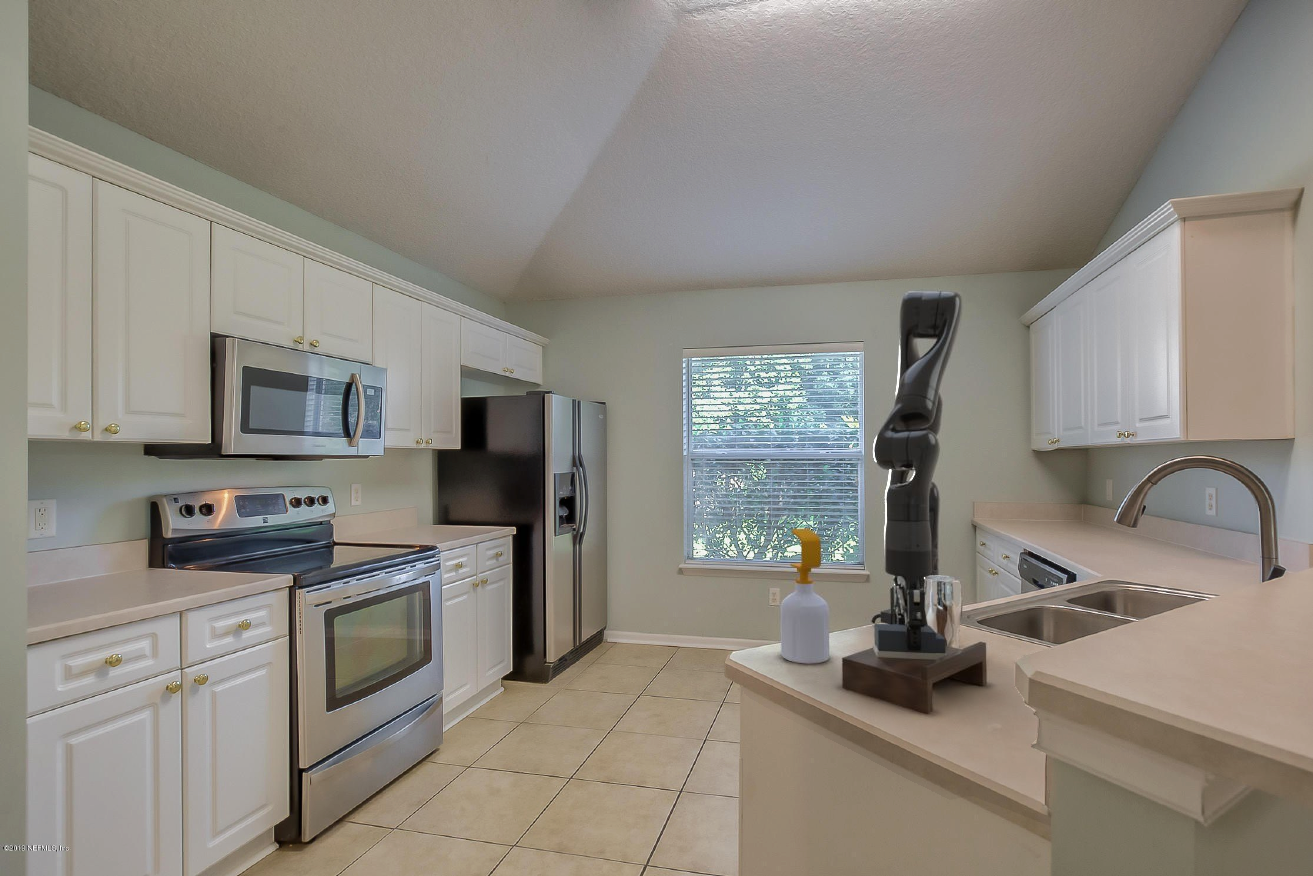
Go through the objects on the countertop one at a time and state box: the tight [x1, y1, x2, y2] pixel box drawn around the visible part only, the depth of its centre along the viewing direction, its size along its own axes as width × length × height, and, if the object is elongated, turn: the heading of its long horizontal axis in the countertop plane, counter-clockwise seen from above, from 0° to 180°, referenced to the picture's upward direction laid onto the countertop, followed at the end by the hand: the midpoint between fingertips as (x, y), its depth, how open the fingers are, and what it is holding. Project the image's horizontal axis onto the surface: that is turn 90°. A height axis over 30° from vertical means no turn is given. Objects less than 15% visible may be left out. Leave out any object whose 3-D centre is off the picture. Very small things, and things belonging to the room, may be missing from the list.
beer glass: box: [924, 574, 964, 649], centre depth 128 cm, size 7×7×15 cm
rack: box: [841, 641, 988, 715], centre depth 111 cm, size 15×20×7 cm
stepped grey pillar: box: [872, 623, 947, 660], centre depth 112 cm, size 11×4×4 cm, turn 80°
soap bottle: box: [780, 528, 830, 665], centre depth 128 cm, size 9×9×25 cm
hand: (909, 643), depth 112 cm, fingers open, 7 cm apart
